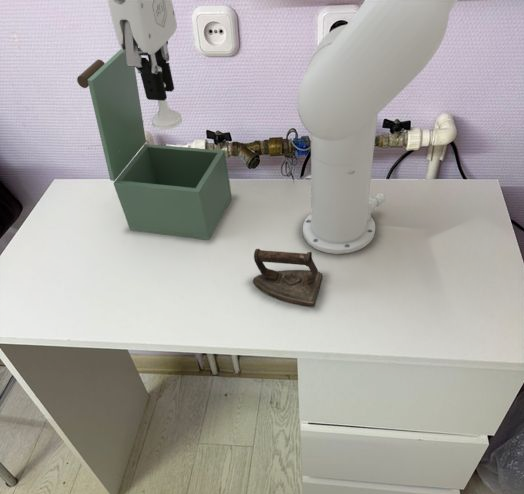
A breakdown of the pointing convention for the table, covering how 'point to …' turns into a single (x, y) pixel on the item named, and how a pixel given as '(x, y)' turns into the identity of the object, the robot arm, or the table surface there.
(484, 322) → the table surface
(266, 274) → the clothes iron
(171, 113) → the chess piece
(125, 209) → the bin
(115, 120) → the bin lid
